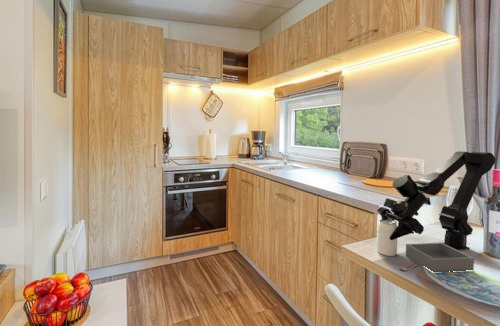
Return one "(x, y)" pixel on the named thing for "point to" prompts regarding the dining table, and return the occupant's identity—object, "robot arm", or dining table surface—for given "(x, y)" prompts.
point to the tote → (439, 257)
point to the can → (387, 238)
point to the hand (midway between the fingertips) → (384, 236)
